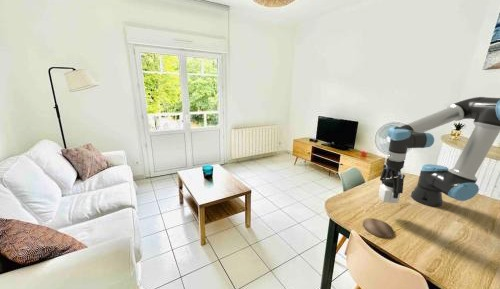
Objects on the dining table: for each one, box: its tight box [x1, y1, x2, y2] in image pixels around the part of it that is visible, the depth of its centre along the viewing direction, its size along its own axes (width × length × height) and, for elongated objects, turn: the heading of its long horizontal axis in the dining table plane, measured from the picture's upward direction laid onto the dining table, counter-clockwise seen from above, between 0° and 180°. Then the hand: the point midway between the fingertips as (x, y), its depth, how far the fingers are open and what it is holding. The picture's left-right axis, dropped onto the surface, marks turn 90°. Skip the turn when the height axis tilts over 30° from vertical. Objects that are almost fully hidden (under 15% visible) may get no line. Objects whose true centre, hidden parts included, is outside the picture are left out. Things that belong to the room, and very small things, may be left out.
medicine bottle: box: [378, 178, 401, 204], centre depth 111 cm, size 7×7×12 cm
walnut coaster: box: [362, 217, 394, 239], centre depth 104 cm, size 13×13×1 cm
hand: (388, 198), depth 113 cm, fingers closed on medicine bottle, 8 cm apart
